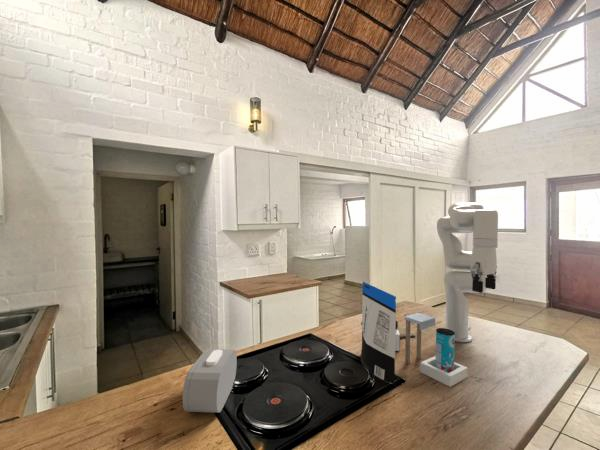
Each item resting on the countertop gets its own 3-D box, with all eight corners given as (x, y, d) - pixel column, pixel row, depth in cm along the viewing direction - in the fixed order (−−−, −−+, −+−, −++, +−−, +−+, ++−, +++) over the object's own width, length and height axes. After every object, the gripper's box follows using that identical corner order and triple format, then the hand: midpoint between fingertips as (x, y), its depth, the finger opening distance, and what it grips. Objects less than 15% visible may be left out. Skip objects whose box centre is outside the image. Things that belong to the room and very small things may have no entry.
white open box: (419, 356, 114) (420, 312, 114) (467, 377, 98) (467, 326, 98) (402, 363, 108) (403, 316, 108) (450, 387, 92) (451, 333, 92)
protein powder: (381, 388, 91) (383, 297, 91) (351, 354, 115) (352, 281, 115) (407, 385, 93) (408, 296, 93) (372, 352, 117) (373, 281, 117)
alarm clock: (208, 379, 95) (209, 340, 95) (236, 380, 95) (236, 341, 95) (181, 423, 74) (181, 373, 74) (216, 424, 74) (216, 374, 74)
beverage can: (450, 378, 96) (450, 335, 96) (432, 371, 101) (433, 330, 101) (456, 372, 100) (457, 331, 100) (439, 366, 105) (440, 326, 105)
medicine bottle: (399, 351, 118) (400, 323, 118) (382, 349, 119) (382, 321, 119) (397, 344, 125) (397, 317, 125) (380, 342, 126) (381, 316, 126)
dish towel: (389, 321, 155) (389, 317, 155) (416, 338, 133) (416, 333, 133) (361, 324, 151) (361, 319, 151) (384, 342, 128) (384, 336, 128)
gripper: (484, 242, 109) (484, 285, 109) (461, 243, 100) (461, 290, 100) (507, 243, 103) (506, 289, 103) (484, 245, 94) (484, 295, 94)
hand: (484, 290), depth 102 cm, fingers open, 9 cm apart
